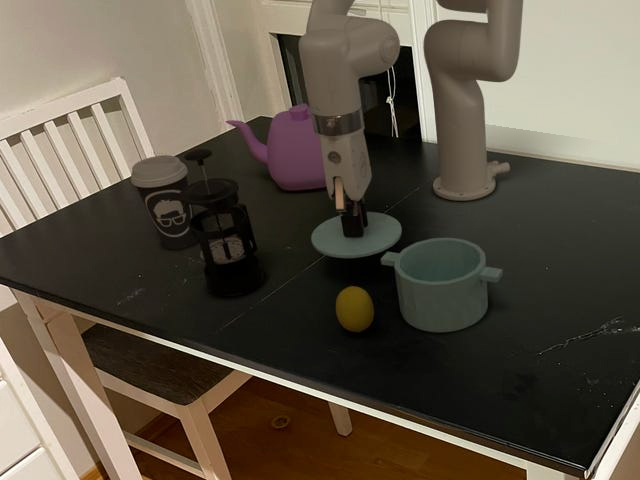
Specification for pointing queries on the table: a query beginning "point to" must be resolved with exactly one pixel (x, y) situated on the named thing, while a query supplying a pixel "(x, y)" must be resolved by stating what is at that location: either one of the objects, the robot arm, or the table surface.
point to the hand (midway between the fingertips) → (356, 230)
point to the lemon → (354, 309)
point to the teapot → (289, 149)
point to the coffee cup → (165, 198)
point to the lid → (375, 239)
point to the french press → (223, 233)
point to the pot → (442, 283)
